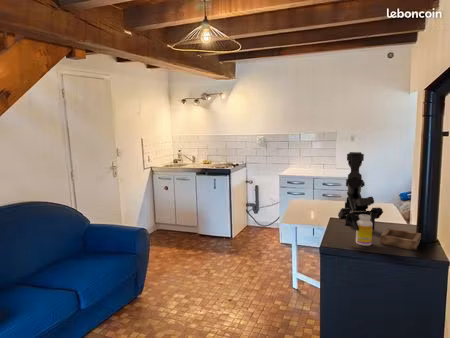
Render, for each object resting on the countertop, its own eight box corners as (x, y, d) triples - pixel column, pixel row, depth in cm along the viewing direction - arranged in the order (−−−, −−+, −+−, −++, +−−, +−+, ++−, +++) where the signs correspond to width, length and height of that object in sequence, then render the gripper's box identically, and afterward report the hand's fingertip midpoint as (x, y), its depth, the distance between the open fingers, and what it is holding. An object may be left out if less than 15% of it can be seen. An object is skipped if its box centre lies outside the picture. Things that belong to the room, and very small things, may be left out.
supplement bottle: (374, 246, 152) (375, 217, 150) (358, 246, 152) (360, 217, 151) (368, 241, 159) (369, 213, 157) (353, 241, 159) (354, 213, 157)
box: (380, 243, 155) (380, 235, 155) (387, 236, 166) (387, 228, 166) (415, 250, 147) (416, 241, 146) (420, 241, 158) (421, 233, 158)
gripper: (341, 190, 156) (351, 221, 146) (382, 189, 157) (394, 220, 147) (334, 204, 165) (342, 233, 155) (372, 203, 166) (383, 233, 156)
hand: (365, 230), depth 153 cm, fingers closed on supplement bottle, 7 cm apart
